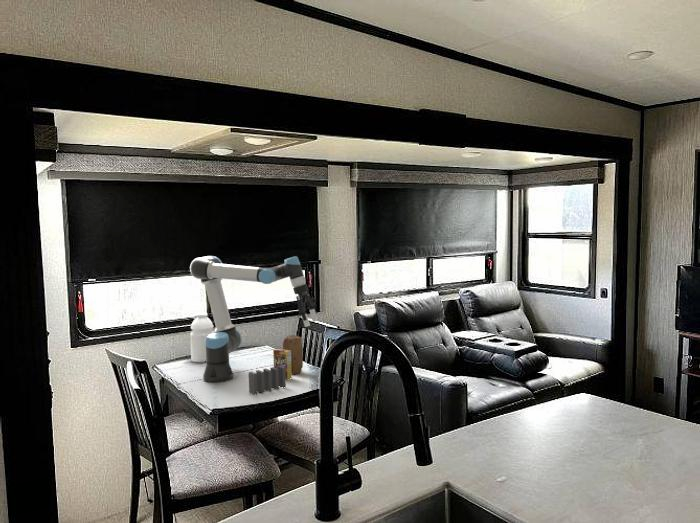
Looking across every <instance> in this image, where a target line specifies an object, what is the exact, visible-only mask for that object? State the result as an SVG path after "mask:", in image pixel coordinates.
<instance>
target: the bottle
mask: <svg viewBox="0 0 700 523" xmlns="http://www.w3.org/2000/svg"><path fill="white" fill-rule="evenodd" d="M208 315H209V314H208V312H197V313H195V317H196V318H195V319H193V321H192V323H191V325H190V329H191V332H189V333H190V334H189V336H190V360H191V362H193V363H206V362H205V361H206V337H207V336H208V335H209V334H212V333H214V331H215V330H213V328H214V327H215V326H214V323H213V322H212V320H211V319H210V318H209V317H208Z"/></svg>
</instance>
